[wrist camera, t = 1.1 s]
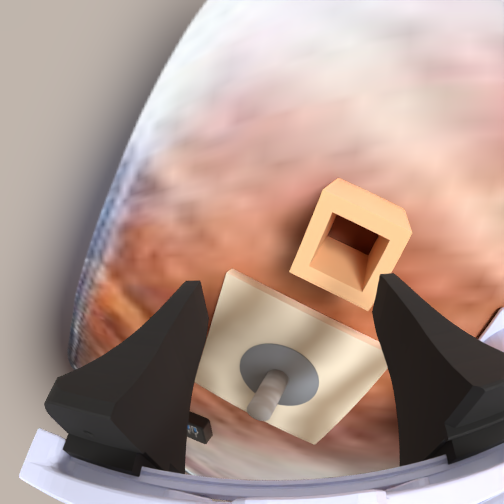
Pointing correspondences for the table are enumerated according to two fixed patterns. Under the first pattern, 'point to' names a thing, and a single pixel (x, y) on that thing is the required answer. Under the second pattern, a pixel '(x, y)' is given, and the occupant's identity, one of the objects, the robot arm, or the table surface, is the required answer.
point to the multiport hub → (199, 428)
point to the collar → (343, 256)
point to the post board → (285, 359)
